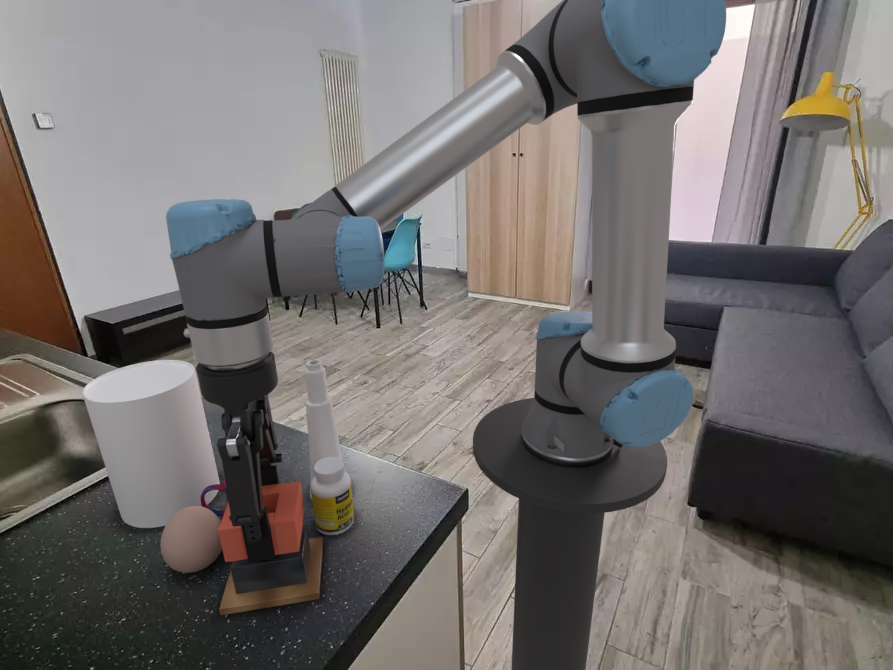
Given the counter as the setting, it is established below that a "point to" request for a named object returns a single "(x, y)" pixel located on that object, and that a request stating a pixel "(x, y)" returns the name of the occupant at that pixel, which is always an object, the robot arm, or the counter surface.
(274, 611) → the counter surface
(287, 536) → the coral block
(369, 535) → the counter surface
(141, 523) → the canister
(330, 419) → the cosmetic bottle
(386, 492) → the counter surface
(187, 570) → the egg
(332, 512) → the supplement bottle
